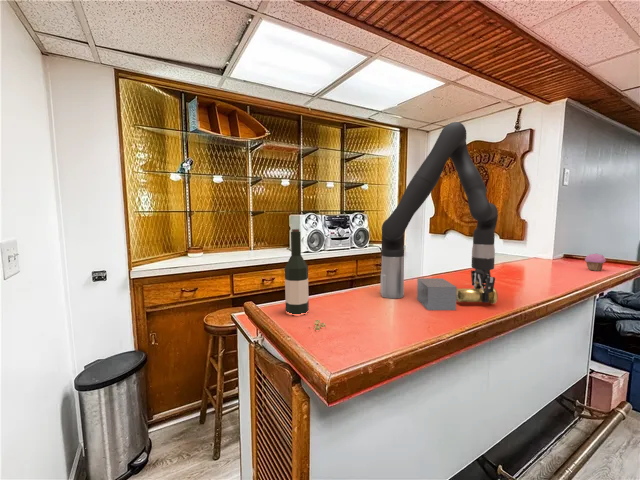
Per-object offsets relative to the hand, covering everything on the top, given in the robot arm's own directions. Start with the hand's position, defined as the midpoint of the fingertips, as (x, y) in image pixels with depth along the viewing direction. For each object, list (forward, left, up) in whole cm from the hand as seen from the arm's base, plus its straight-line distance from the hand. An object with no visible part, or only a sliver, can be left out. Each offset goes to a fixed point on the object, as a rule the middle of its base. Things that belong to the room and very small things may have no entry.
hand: (481, 300), depth 113 cm
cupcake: (+96, +66, -2) cm, 116 cm away
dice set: (-61, -24, -3) cm, 66 cm away
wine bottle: (-69, -10, -2) cm, 70 cm away
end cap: (-2, 0, -1) cm, 3 cm away
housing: (-17, 0, -2) cm, 17 cm away
